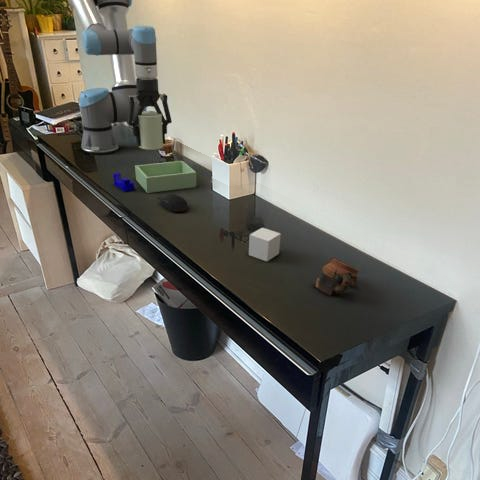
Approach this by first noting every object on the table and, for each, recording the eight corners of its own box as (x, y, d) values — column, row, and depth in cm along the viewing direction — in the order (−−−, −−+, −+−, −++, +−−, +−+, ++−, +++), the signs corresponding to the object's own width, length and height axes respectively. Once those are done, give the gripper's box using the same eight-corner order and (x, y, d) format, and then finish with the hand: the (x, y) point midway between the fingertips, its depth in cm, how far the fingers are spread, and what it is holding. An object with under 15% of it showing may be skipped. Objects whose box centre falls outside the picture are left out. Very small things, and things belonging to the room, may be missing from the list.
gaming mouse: (168, 196, 165) (168, 184, 163) (191, 210, 156) (191, 198, 153) (152, 200, 162) (151, 188, 160) (174, 214, 152) (174, 202, 150)
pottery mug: (307, 282, 122) (322, 252, 120) (337, 295, 125) (353, 266, 123) (325, 295, 111) (342, 263, 109) (358, 310, 114) (375, 278, 112)
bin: (136, 180, 177) (134, 165, 174) (183, 174, 184) (182, 160, 181) (147, 193, 167) (146, 177, 164) (196, 186, 174) (196, 172, 171)
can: (165, 143, 187) (164, 110, 180) (160, 150, 179) (158, 116, 172) (142, 141, 187) (139, 108, 180) (135, 148, 180) (133, 114, 173)
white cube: (260, 247, 136) (262, 227, 132) (279, 253, 133) (280, 233, 130) (248, 255, 132) (249, 234, 128) (266, 261, 129) (268, 240, 126)
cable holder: (134, 189, 169) (133, 178, 167) (125, 191, 167) (124, 180, 165) (123, 183, 174) (122, 172, 172) (114, 185, 172) (113, 174, 170)
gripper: (118, 80, 163) (125, 149, 176) (179, 78, 171) (181, 144, 184) (113, 76, 168) (120, 143, 181) (172, 74, 176) (175, 138, 189)
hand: (151, 143), depth 183 cm, fingers closed on can, 9 cm apart
